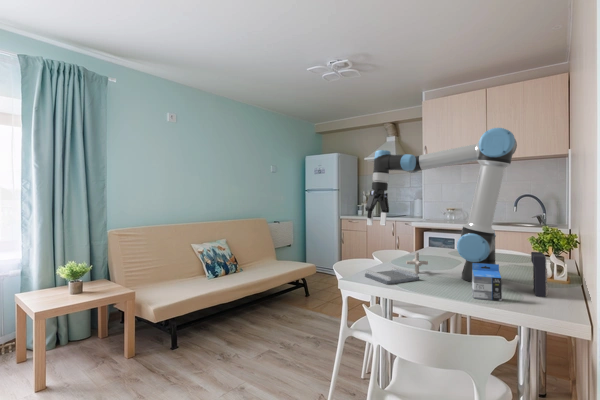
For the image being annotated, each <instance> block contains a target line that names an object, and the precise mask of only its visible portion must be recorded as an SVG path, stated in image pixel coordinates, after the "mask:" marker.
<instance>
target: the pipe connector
mask: <svg viewBox="0 0 600 400" xmlns="http://www.w3.org/2000/svg"><path fill="white" fill-rule="evenodd" d="M419 255H420V252H418V251H417V252H416V251H415V252H414V258H413V259H412V260H405V263H406V265H414V273H418V274H420V267H421V266H422V265H423V266H425V265H426V266H427V265H429V262H428V260H420V256H419Z"/></svg>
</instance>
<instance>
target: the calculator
mask: <svg viewBox="0 0 600 400" xmlns="http://www.w3.org/2000/svg"><path fill="white" fill-rule="evenodd" d="M530 252H531V253H530V254H531V256H530V257H531V259H530V260H531V263H532V265H533V266H532V267H533V268H532V269H533V270H532V271H533V272H532V273H533V274H532V275H533V282H532V285H533V286H532V287H533V292H534V295H535V296H536V297H539V298H546V297H547V296H548V289H549V288H548V275H549V274H548V268H547V257H546V255H545V253H543V252H542V251H541V252H540V251H530Z"/></svg>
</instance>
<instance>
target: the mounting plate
mask: <svg viewBox="0 0 600 400" xmlns="http://www.w3.org/2000/svg"><path fill="white" fill-rule="evenodd" d="M364 277H365V278H368V279H371V280H373V281H376V282H379V283H381V284H384V285H393V284H401V283H408V282H414V281H415V282H416V281H420V276H419V273H415V271H414V272H413V271H409V270H406V269H403V268H399V267H396V266H393V267H392V269H390V270H384V271H383V270H382V271H373V270H371V269H366V273H364Z"/></svg>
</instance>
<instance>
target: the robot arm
mask: <svg viewBox="0 0 600 400" xmlns="http://www.w3.org/2000/svg"><path fill="white" fill-rule="evenodd" d="M517 147H518V143H517V140H516V138H515V135H514V134H513V132H512V131H510V130H509V129H506V128H504V127H492V128H490V129H487V130H486V131H485V132H484V133H482V135H481V136H480V138H479V140H478V141H477V143H475V144H469V145H465V146H464V145H463V146H460V147H454V148H450V149H445V150H440V151H435V152H434V151H433V152H430V153H425V154H424V153H423V154H419V155H414V154H411V153H410V154H409V153H404V154H391V151H390V150H386V149H385V150H383V149H378V150H376V151H375V152H374V158H373V172H372V175H371V177H372V181H373V182H372V183H371V190H370V191H369V196H368V199H367V202H366V205H365V212H367V216H366V226H373V224H374V223H373V222H374V209H375V207H376V205H377V203H378V202H379V205H380V208H381V209H380V210H381V212H380V221H379V226H386V225H387V224H386V223H387V214H389V213H390V206H389V200H388V196H389V195H388V194H389V193H387V192H386V191H388V186H389V185H388V182H389V177H390V176H389V175H390V174H389V173H390V171H402V172H406V173H410V174H413V173H414V174H415V173H417V172H421V171H424V170H432V169H437V168H444V167H448V166H454V165H461V164H467V163H472V162H477V163H478V164H479V171H478V176H477V180H476V184H475V189H474V193H473V198H472V202H471V208H470V212H469V217H468V220H467V223H465V224H463V225H462V229H461V234H460V237H459V238H458V240H457V242H456V243H457V244H456V250H457V253H458V255H459V256H460V257H461V258H463V260H465V263H464V266H463V269H462V271H461V279H462V280H463V281H464V280H465V281H468V282H470V283H472V269H473V268H472V263H481V264H497V263H496V236H497V235H496V231H495V229H493V227H492V226H493V222H494V217H495V213H496V209H497V204H498V199H499V195H500V190H501V186H502V182H503V177H504V174H505V170H506V168H508V167H509V166H510V165H511V162H512V158H513V155H514V154H515V152H516V151H517ZM481 268H485V269H490V267H486V266H485V267H481Z"/></svg>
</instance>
